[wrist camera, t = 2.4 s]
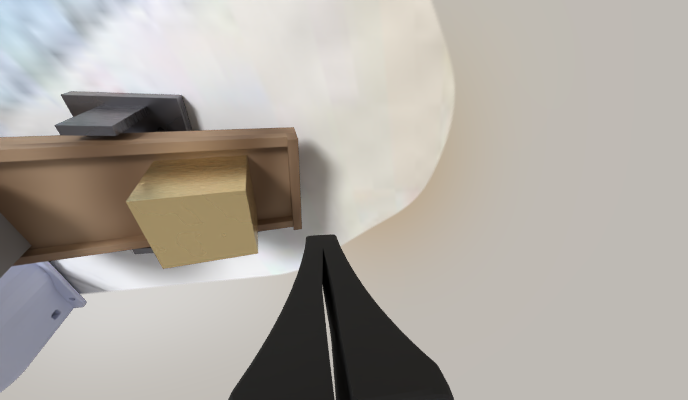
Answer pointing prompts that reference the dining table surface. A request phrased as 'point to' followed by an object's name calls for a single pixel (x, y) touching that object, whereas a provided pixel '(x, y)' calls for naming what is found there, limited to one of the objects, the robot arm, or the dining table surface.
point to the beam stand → (123, 116)
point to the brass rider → (197, 209)
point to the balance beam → (123, 187)
